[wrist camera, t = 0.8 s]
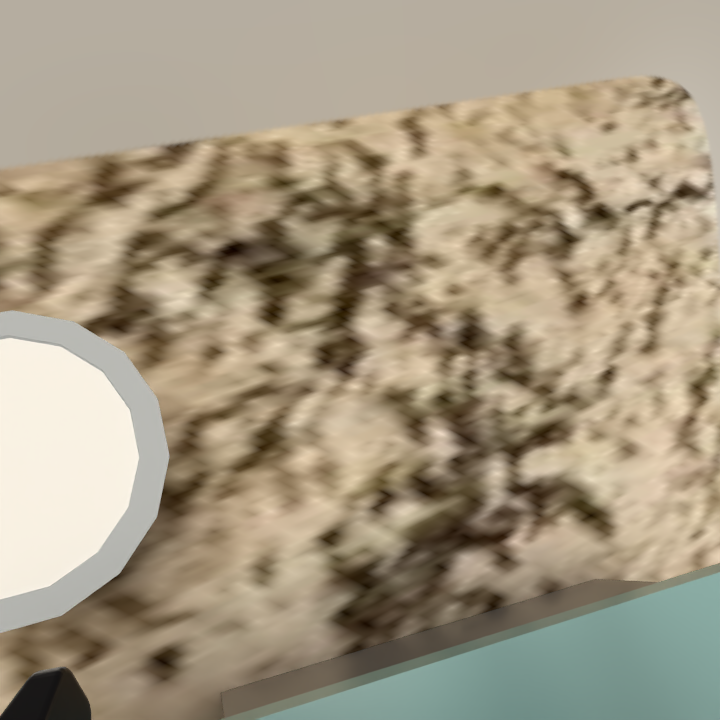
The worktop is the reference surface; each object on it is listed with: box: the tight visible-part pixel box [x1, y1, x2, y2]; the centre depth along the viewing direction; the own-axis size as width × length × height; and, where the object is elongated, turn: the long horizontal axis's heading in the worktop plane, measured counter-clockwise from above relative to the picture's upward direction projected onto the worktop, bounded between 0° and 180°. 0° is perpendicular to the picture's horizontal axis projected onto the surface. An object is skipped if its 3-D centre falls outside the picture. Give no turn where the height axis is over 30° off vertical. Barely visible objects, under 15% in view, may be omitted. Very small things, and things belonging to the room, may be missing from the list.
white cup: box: [0, 311, 169, 633], centre depth 18 cm, size 7×7×7 cm
